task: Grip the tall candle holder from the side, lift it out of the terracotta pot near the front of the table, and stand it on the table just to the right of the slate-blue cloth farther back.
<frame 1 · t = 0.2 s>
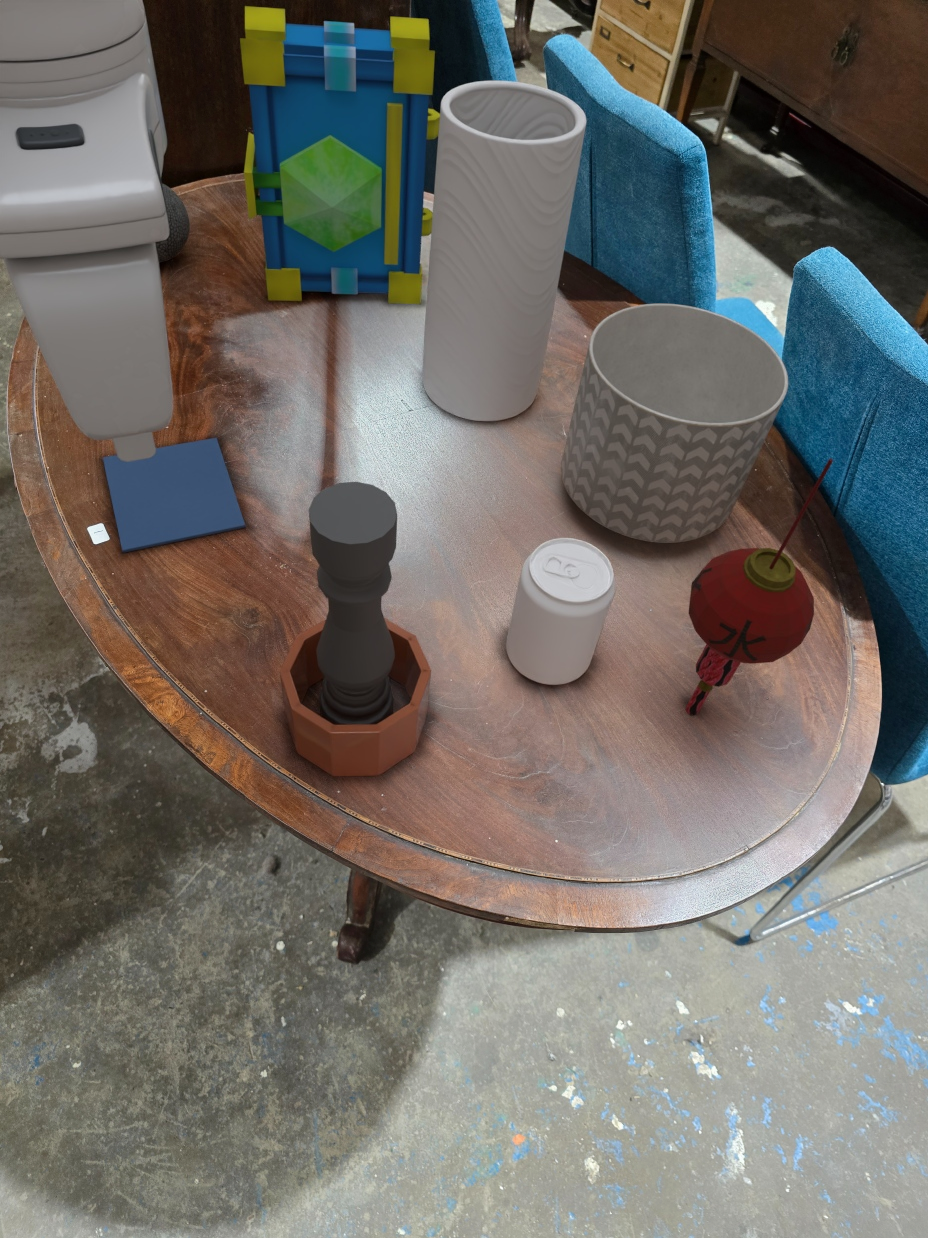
hand: (121, 392, 45), 36 cm above the table, tool pointing down, fingers open, 8 cm apart
blue cloth: (172, 493, 90), on the table
terracotta pot: (356, 716, 75), on the table
decorative ball: (157, 258, 117), on the table
lantern: (691, 711, 79), on the table
vase: (479, 389, 105), on the table
planter: (640, 500, 96), on the table
beverage can: (547, 654, 81), on the table
candle holder: (356, 717, 75), resting in terracotta pot
decorative book: (346, 284, 117), on the table
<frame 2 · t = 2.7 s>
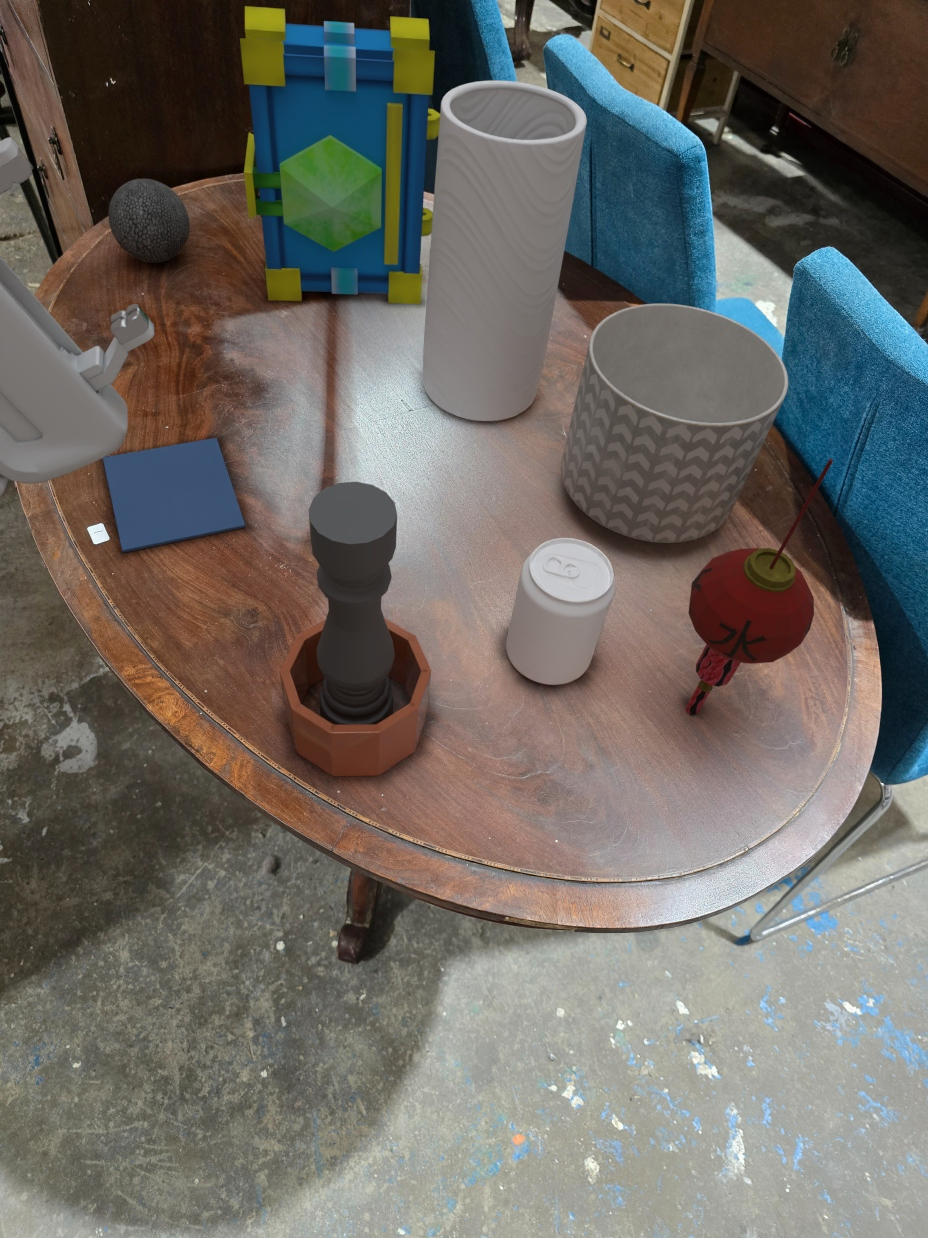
hand: (89, 243, 44), 40 cm above the table, tool pointing upward, fingers open, 8 cm apart
nothing on the table moved.
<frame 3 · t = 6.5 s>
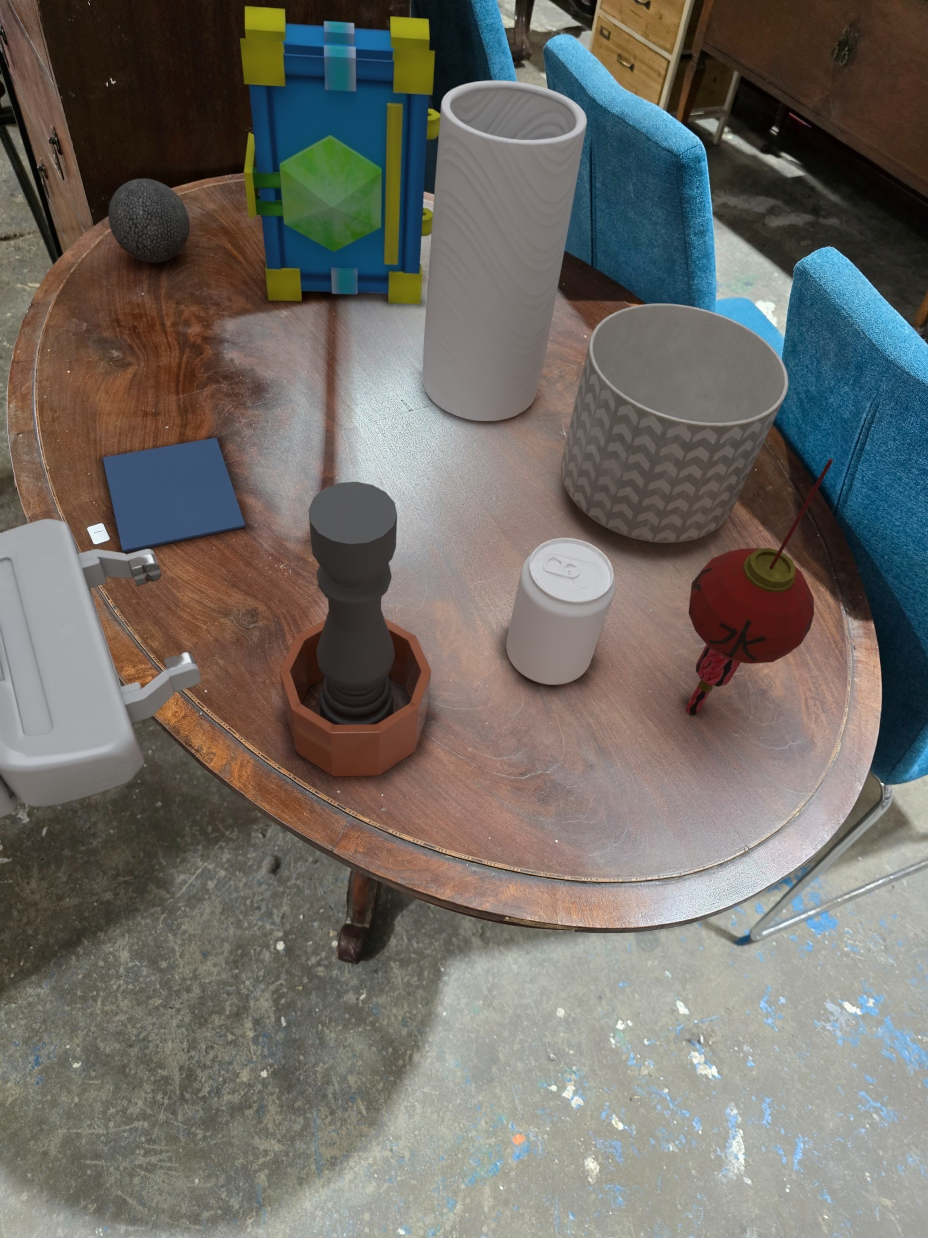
hand: (176, 612, 57), 19 cm above the table, tool horizontal, fingers open, 8 cm apart
nothing on the table moved.
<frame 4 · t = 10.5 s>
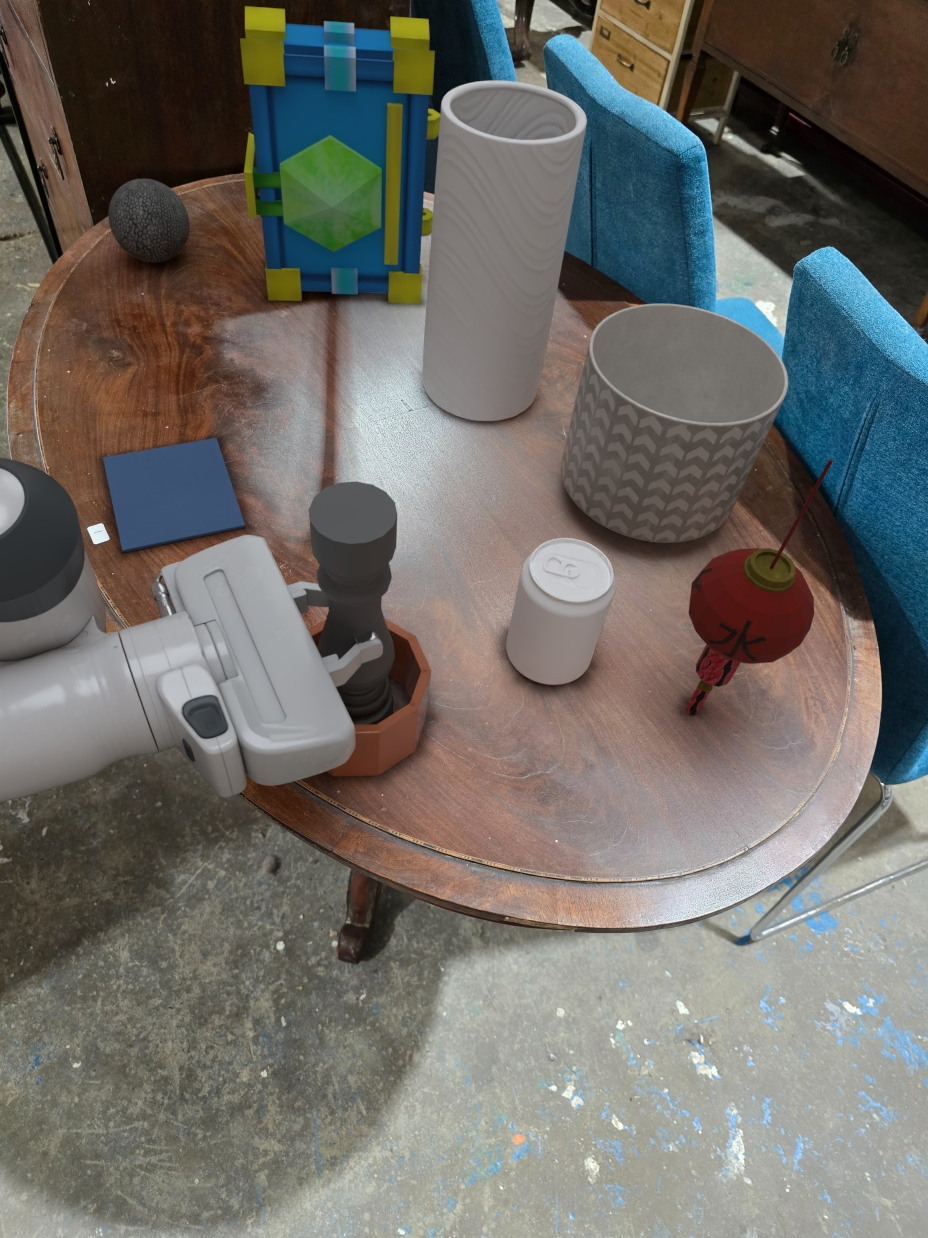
hand: (366, 617, 65), 14 cm above the table, tool horizontal, fingers closed on candle holder, 4 cm apart
candle holder: (356, 717, 75), resting in terracotta pot, touching gripper
everything else where it was.
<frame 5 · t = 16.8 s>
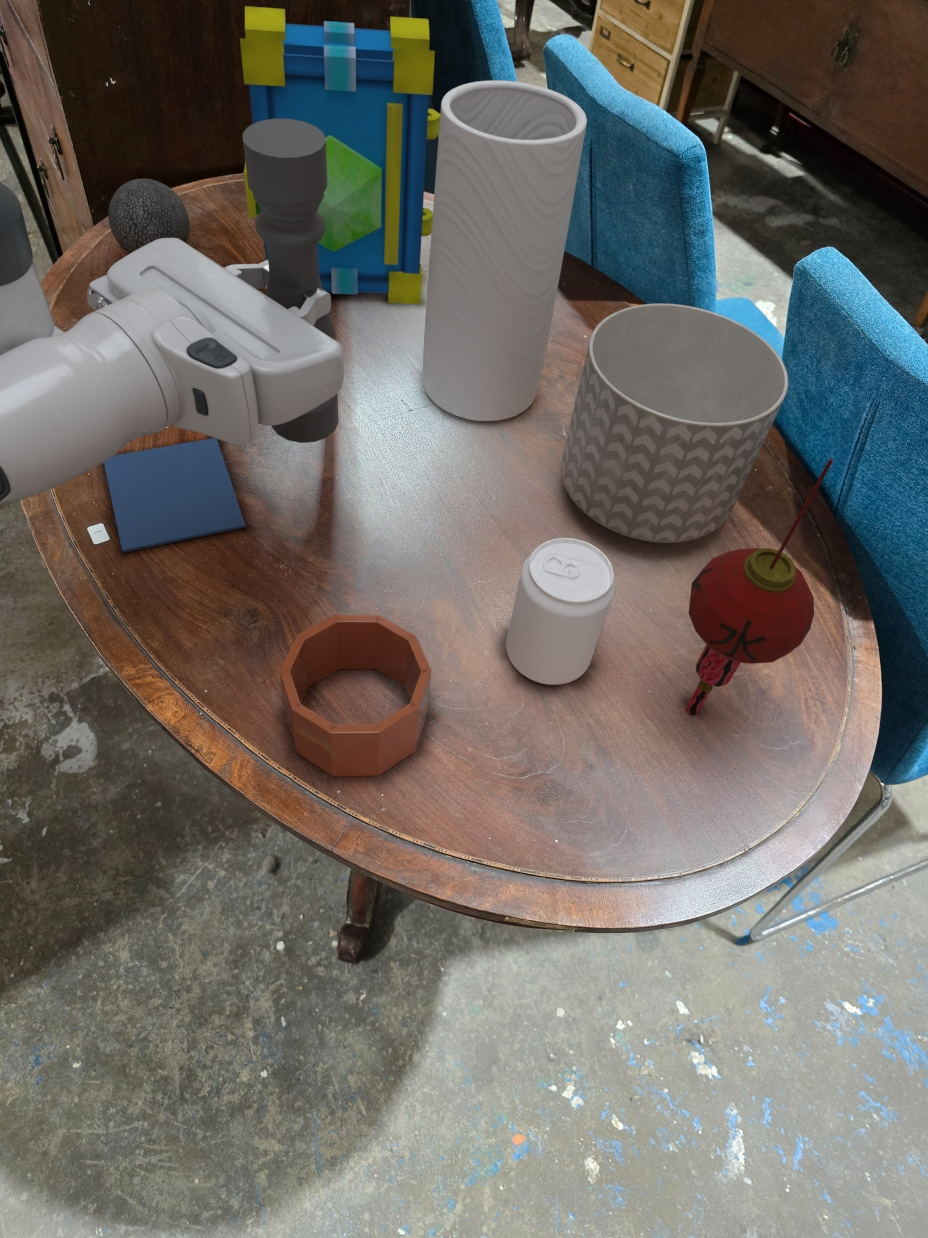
hand: (303, 283, 69), 26 cm above the table, tool horizontal, fingers closed on candle holder, 4 cm apart
candle holder: (304, 421, 79), point 13 cm above the table, touching gripper
everything else where it was.
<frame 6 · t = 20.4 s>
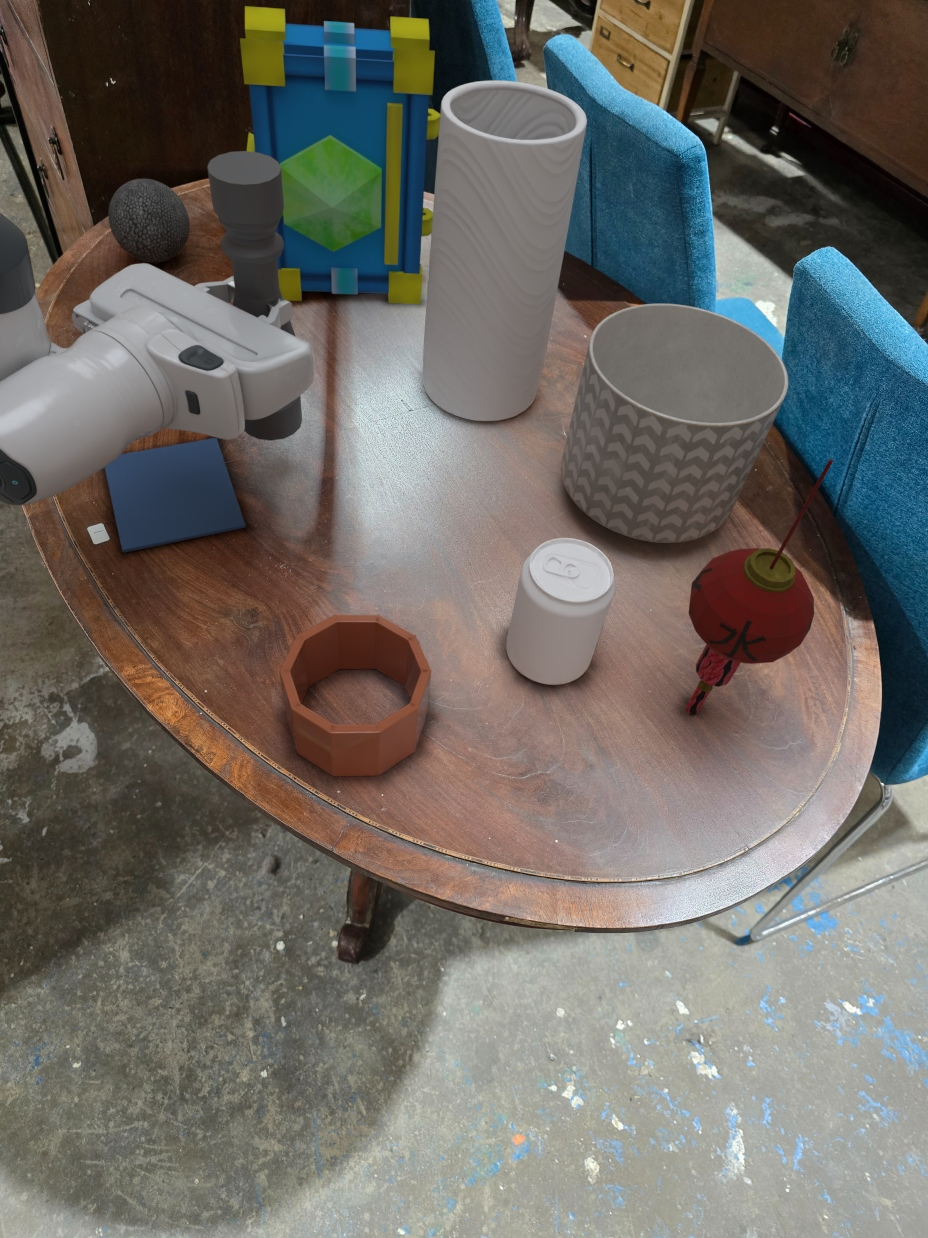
hand: (264, 295, 77), 21 cm above the table, tool horizontal, fingers closed on candle holder, 4 cm apart
candle holder: (271, 421, 87), point 7 cm above the table, touching gripper
everything else where it was.
when the fingers open (14 cm above the table, at t = 23.2 s): candle holder stays where it is, on the table.
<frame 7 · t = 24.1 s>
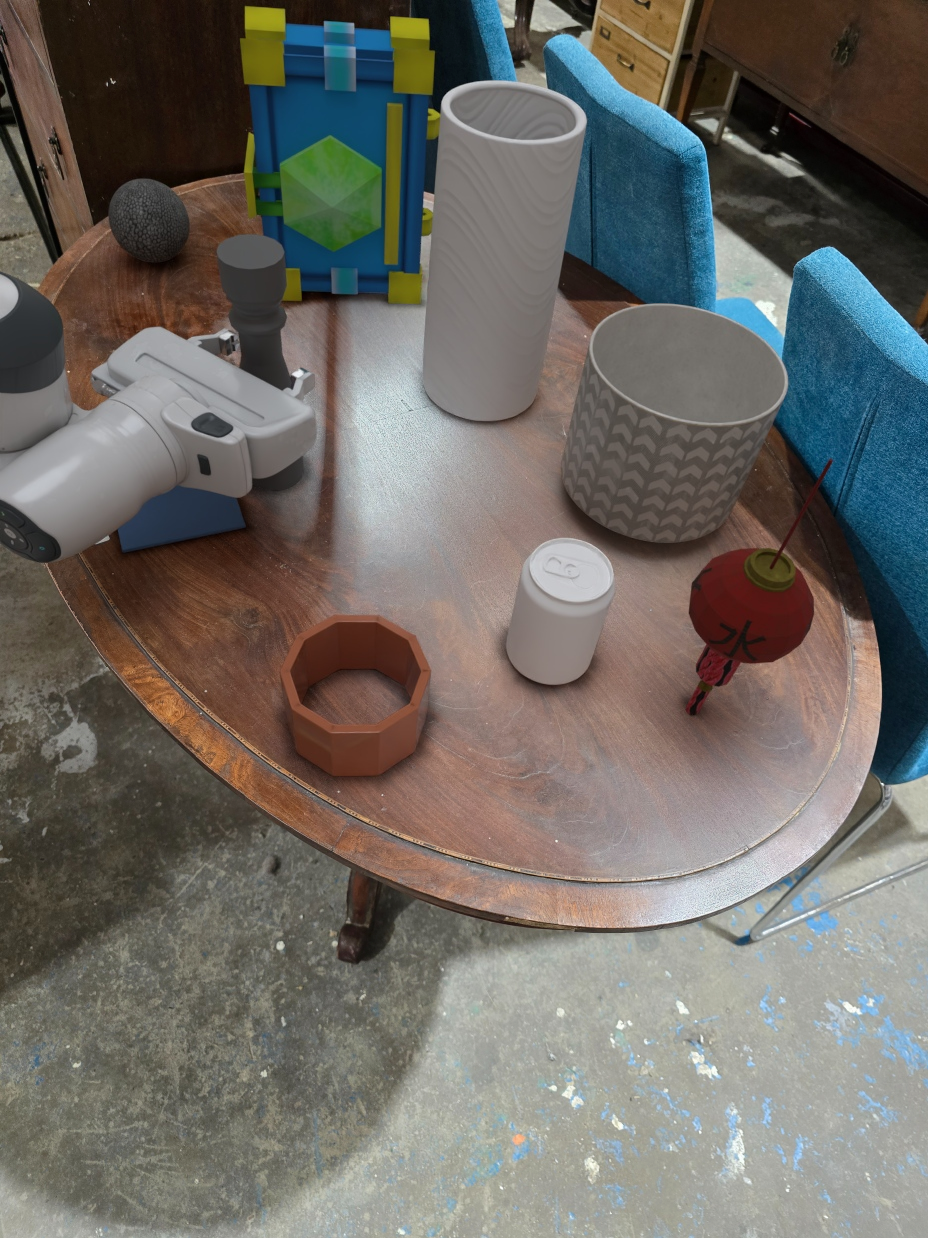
hand: (270, 356, 82), 14 cm above the table, tool horizontal, fingers open, 8 cm apart
candle holder: (274, 472, 93), on the table
everything else where it was.
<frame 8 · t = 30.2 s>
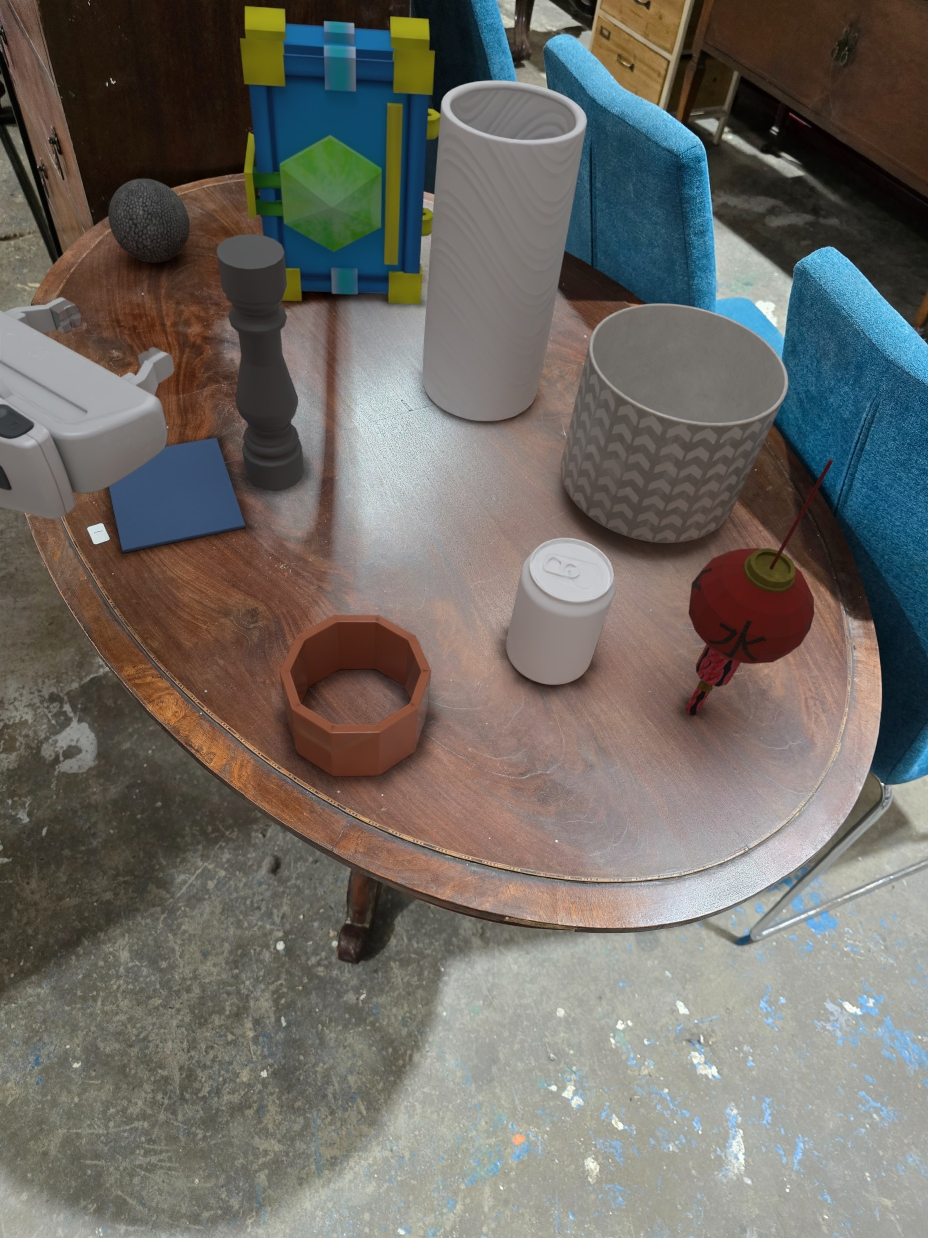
hand: (118, 333, 63), 26 cm above the table, tool horizontal, fingers open, 8 cm apart
nothing on the table moved.
at the end: candle holder inside the target area on the table beside the blue cloth (0.8 cm from its centre), on the table; candle holder tilted 0° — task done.
